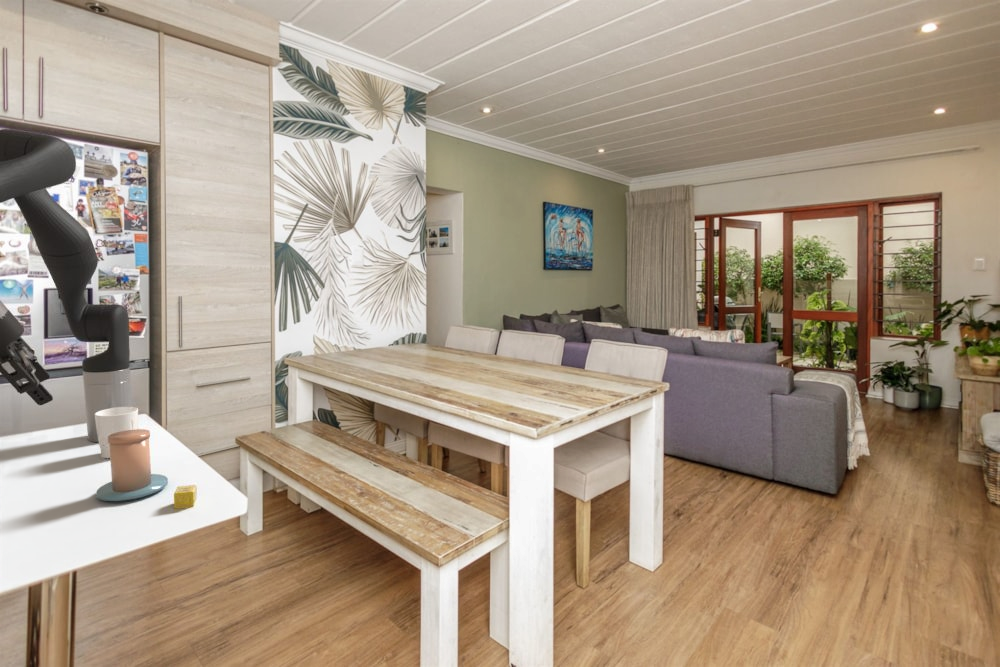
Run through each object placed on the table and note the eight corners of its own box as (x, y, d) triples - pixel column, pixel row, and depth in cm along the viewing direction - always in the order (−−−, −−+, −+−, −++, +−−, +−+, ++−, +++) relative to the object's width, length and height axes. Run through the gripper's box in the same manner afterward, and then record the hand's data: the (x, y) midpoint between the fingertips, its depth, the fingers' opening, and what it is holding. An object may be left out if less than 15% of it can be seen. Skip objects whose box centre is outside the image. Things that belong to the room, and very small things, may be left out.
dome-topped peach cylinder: (110, 484, 97) (106, 433, 96) (150, 476, 101) (148, 427, 100) (112, 495, 92) (108, 441, 91) (154, 486, 96) (151, 435, 95)
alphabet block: (197, 499, 94) (196, 484, 93) (194, 507, 91) (193, 490, 90) (178, 502, 93) (177, 486, 92) (174, 509, 90) (173, 493, 89)
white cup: (118, 461, 111) (114, 417, 110) (88, 458, 113) (85, 414, 112) (149, 449, 119) (146, 407, 118) (121, 446, 120) (118, 405, 119)
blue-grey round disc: (96, 488, 97) (95, 482, 97) (164, 475, 104) (164, 469, 104) (97, 509, 89) (96, 503, 89) (171, 493, 96) (171, 487, 96)
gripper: (6, 324, 79) (72, 398, 89) (5, 293, 88) (65, 363, 98) (-54, 347, 75) (22, 422, 85) (-49, 312, 85) (19, 383, 94)
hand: (45, 390), depth 92 cm, fingers open, 8 cm apart
